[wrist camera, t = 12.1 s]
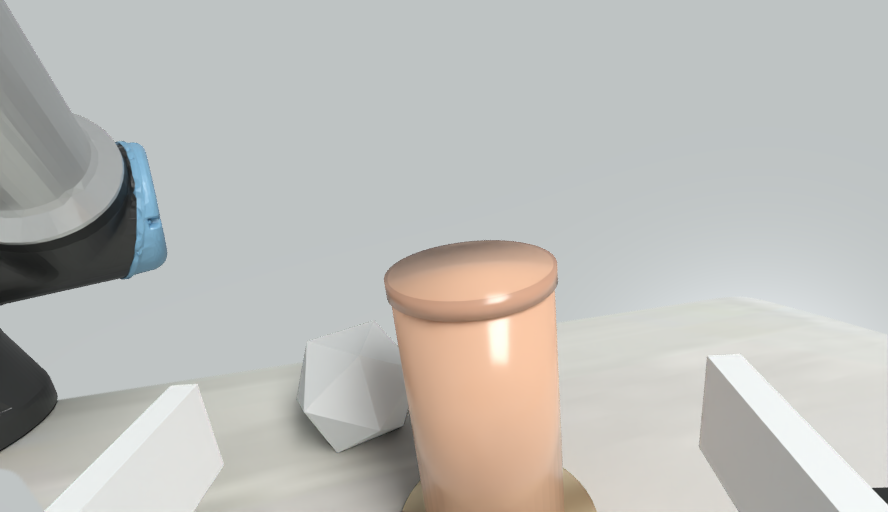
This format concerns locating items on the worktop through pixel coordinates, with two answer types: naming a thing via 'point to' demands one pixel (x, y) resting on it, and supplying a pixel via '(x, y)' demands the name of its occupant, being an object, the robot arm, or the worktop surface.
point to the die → (353, 385)
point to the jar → (481, 374)
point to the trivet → (575, 497)
